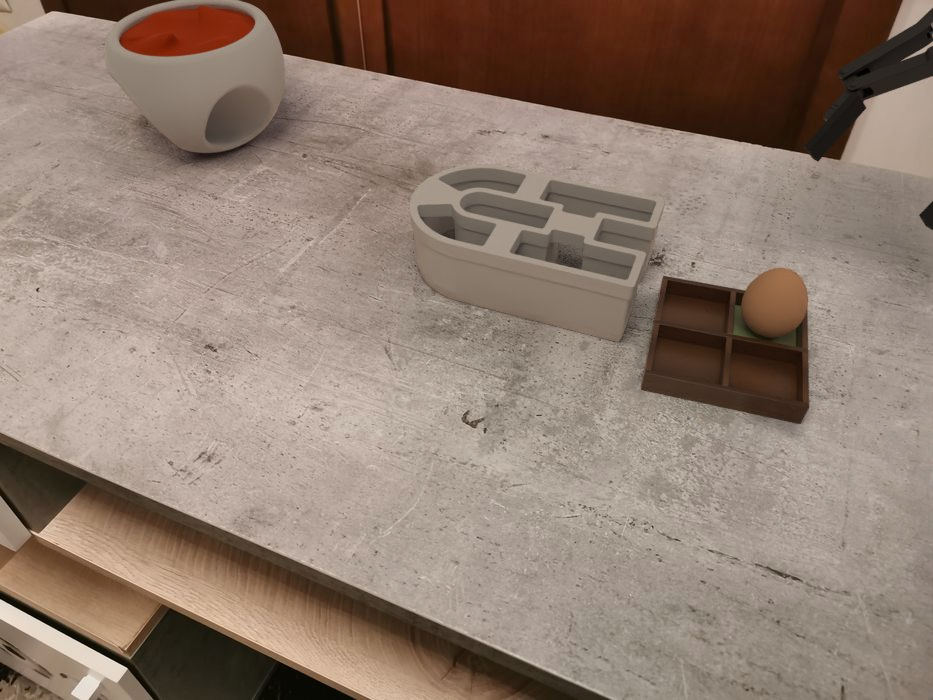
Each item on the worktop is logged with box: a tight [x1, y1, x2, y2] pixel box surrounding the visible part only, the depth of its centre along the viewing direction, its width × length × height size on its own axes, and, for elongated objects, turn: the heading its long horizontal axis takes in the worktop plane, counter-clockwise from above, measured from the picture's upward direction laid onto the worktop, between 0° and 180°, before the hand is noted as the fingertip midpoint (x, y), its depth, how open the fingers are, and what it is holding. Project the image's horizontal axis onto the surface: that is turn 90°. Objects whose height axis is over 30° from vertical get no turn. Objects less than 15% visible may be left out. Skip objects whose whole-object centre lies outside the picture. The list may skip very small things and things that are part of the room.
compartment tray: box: [640, 275, 810, 425], centre depth 78 cm, size 16×16×3 cm
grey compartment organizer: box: [409, 163, 666, 343], centre depth 86 cm, size 17×28×9 cm, turn 68°
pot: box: [104, 0, 286, 154], centre depth 106 cm, size 24×24×18 cm
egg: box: [741, 267, 809, 338], centre depth 77 cm, size 6×6×8 cm
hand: (864, 186), depth 69 cm, fingers open, 13 cm apart
